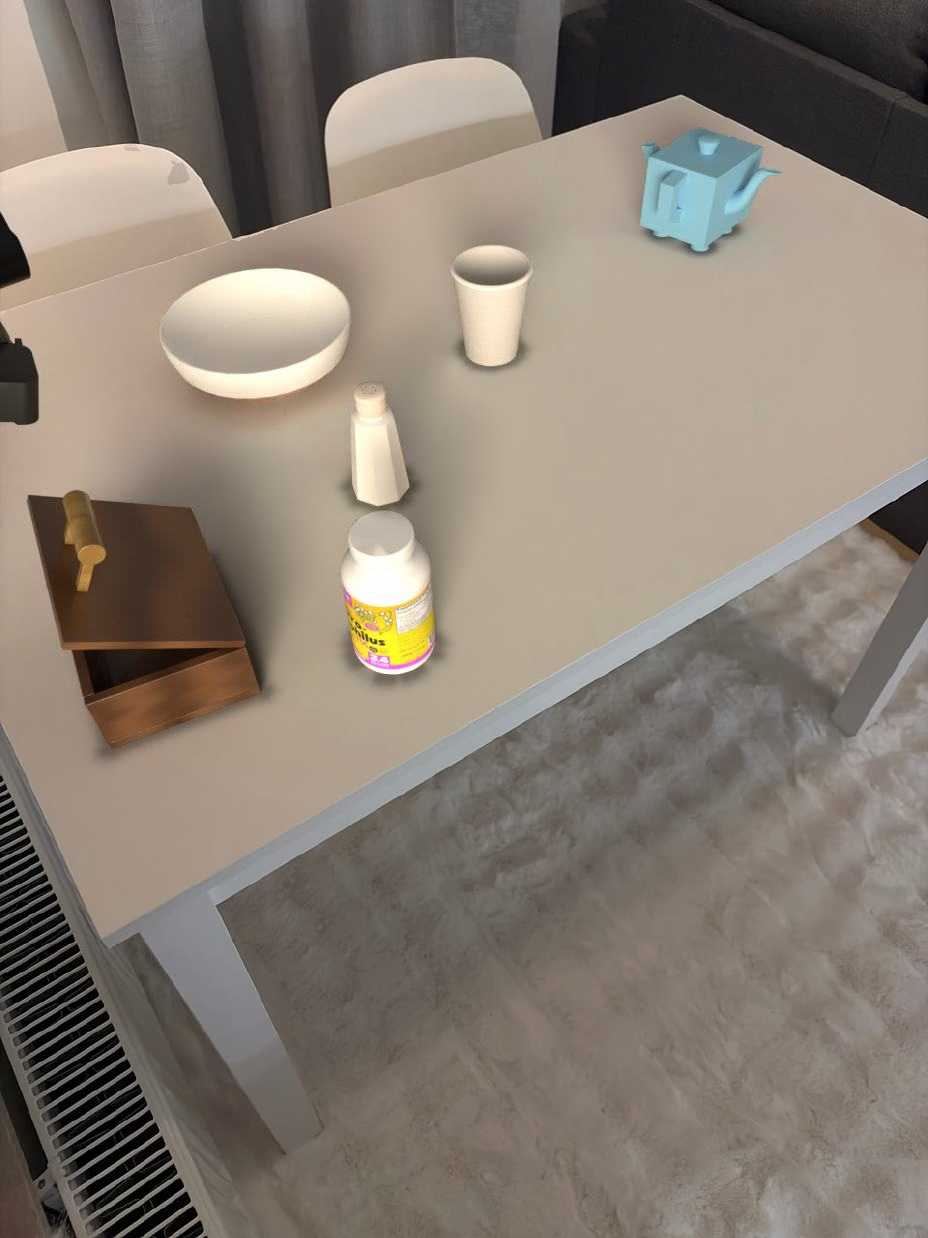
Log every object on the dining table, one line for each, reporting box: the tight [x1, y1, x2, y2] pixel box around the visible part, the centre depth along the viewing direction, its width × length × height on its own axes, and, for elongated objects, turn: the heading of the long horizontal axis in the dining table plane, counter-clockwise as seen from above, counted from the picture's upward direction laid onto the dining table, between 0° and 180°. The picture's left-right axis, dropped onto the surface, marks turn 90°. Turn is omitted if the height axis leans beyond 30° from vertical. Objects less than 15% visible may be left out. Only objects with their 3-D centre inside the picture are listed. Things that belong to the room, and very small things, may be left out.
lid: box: [26, 489, 247, 651], centre depth 66 cm, size 12×16×5 cm
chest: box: [71, 643, 262, 750], centre depth 72 cm, size 12×16×6 cm
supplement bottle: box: [339, 510, 436, 675], centre depth 69 cm, size 7×7×13 cm
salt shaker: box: [350, 381, 410, 507], centre depth 82 cm, size 5×5×11 cm
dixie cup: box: [449, 244, 534, 367], centre depth 96 cm, size 8×8×10 cm
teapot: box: [639, 126, 782, 252], centre depth 110 cm, size 16×18×11 cm
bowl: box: [158, 267, 352, 402], centre depth 96 cm, size 20×20×6 cm
